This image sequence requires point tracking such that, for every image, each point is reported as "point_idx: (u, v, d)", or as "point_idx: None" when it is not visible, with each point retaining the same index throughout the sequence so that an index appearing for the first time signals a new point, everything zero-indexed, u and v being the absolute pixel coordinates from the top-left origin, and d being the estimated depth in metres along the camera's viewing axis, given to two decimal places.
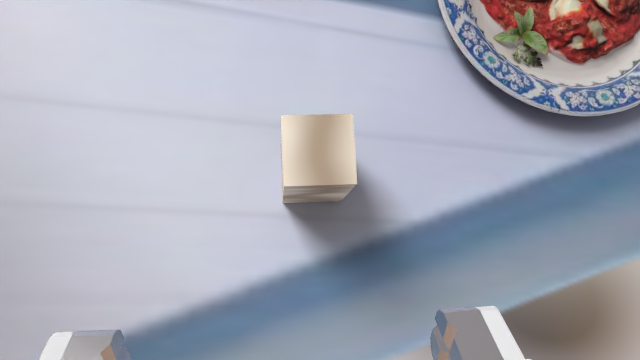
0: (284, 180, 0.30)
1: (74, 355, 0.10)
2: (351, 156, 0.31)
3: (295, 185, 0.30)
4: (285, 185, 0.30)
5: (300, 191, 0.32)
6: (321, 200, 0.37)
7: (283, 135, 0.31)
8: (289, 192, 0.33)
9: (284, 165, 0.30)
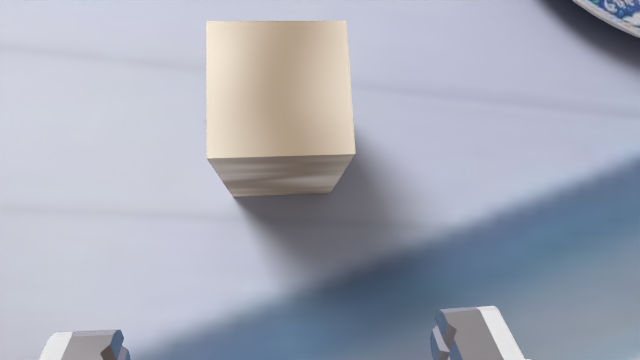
0: (209, 146, 0.15)
1: (74, 355, 0.10)
2: (343, 100, 0.16)
3: (231, 156, 0.15)
4: (210, 156, 0.15)
5: (249, 172, 0.17)
6: (296, 191, 0.22)
7: (209, 59, 0.16)
8: (229, 174, 0.17)
9: (209, 117, 0.15)
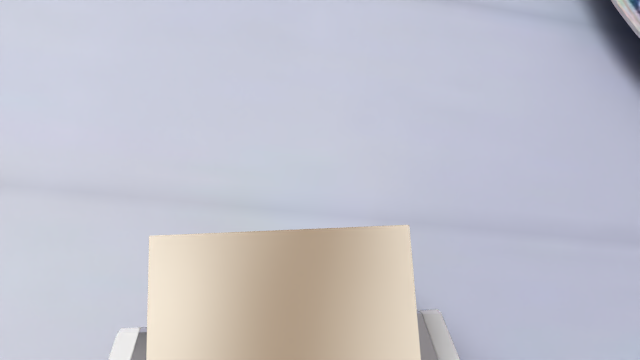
0: None
1: (144, 350, 0.10)
2: None
3: None
4: None
5: None
6: None
7: (152, 315, 0.08)
8: None
9: None
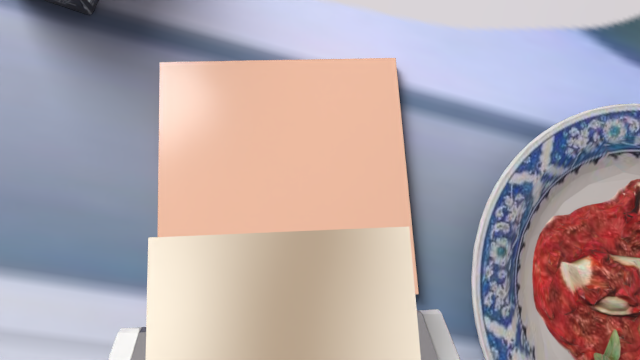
0: None
1: (144, 350, 0.10)
2: None
3: None
4: None
5: None
6: None
7: (152, 318, 0.08)
8: None
9: None
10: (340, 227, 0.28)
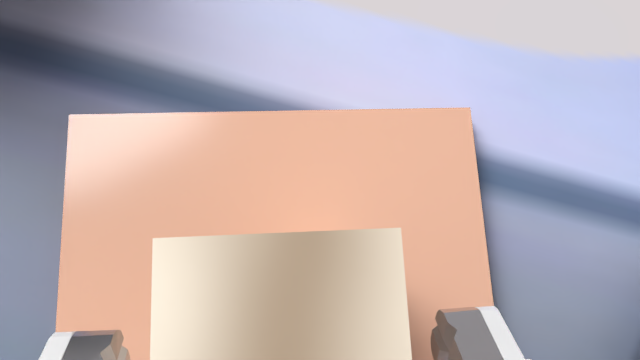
0: None
1: (74, 355, 0.10)
2: None
3: None
4: None
5: None
6: None
7: (156, 314, 0.09)
8: None
9: None
10: None
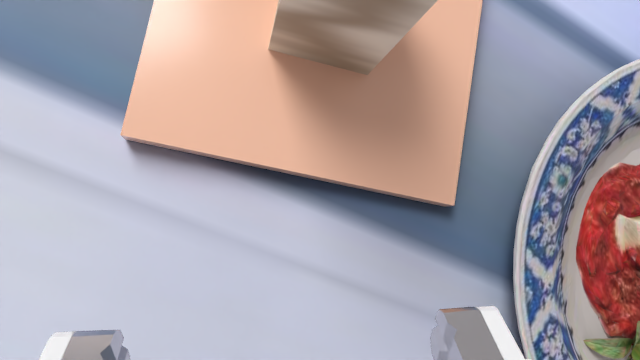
0: None
1: (74, 355, 0.10)
2: None
3: None
4: None
5: None
6: (337, 60, 0.21)
7: None
8: None
9: None
10: (381, 99, 0.22)
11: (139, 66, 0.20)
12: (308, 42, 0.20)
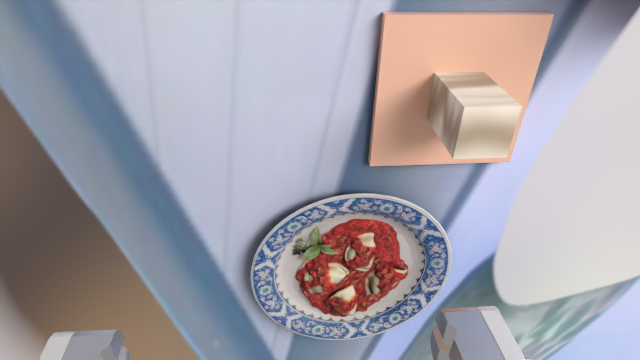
0: (468, 107, 0.37)
1: (74, 355, 0.10)
2: (474, 155, 0.40)
3: (462, 115, 0.37)
4: (464, 108, 0.37)
5: (452, 109, 0.39)
6: (431, 106, 0.45)
7: (505, 107, 0.37)
8: (452, 99, 0.39)
9: (480, 107, 0.37)
10: (415, 127, 0.47)
11: (419, 15, 0.40)
12: (437, 95, 0.43)
